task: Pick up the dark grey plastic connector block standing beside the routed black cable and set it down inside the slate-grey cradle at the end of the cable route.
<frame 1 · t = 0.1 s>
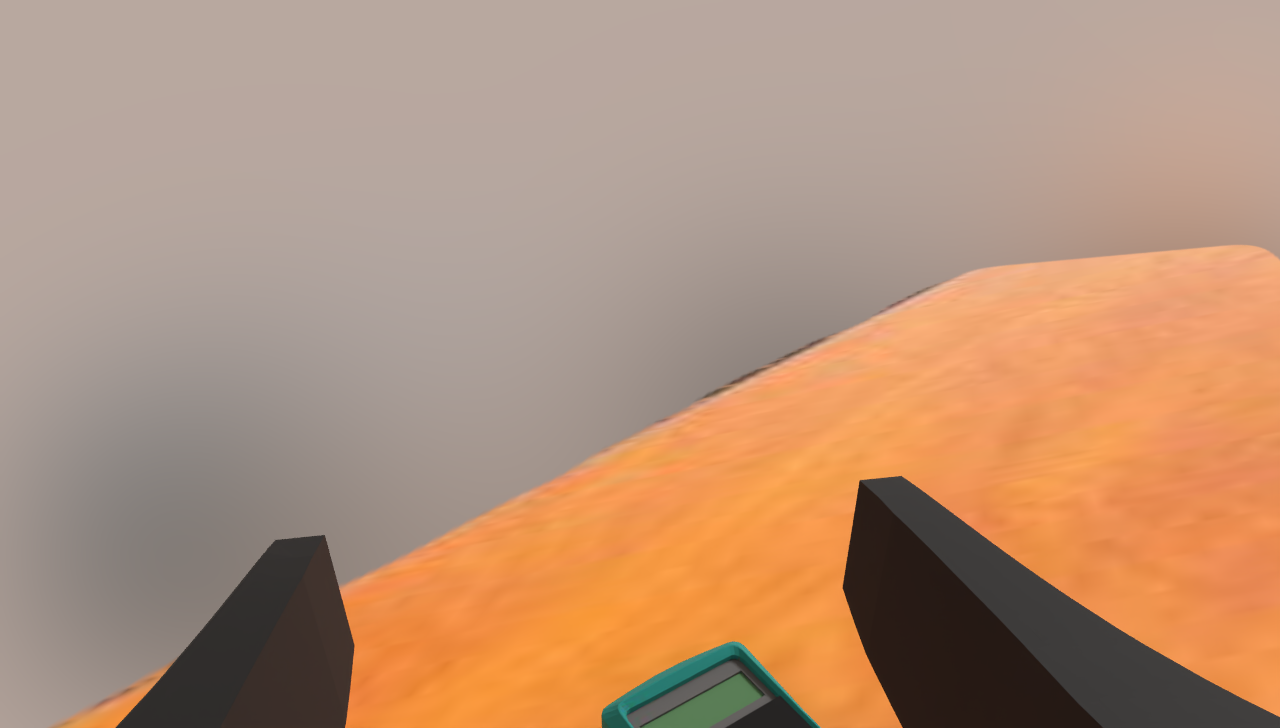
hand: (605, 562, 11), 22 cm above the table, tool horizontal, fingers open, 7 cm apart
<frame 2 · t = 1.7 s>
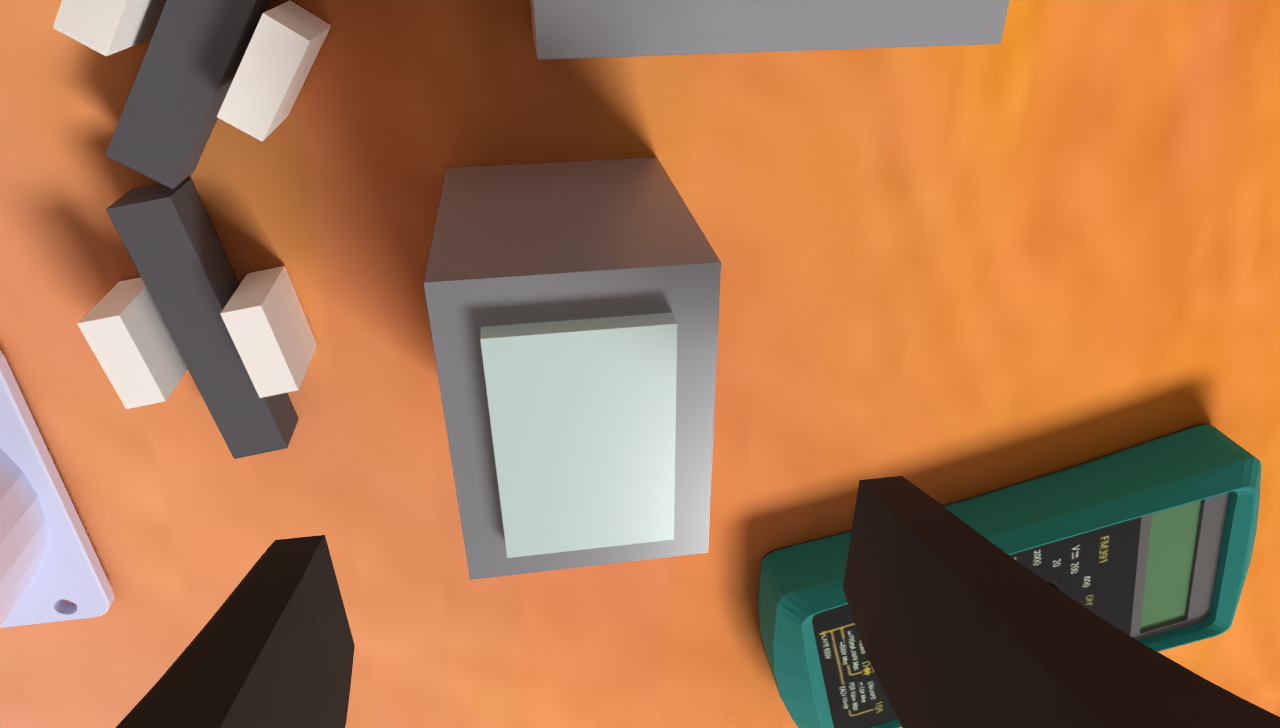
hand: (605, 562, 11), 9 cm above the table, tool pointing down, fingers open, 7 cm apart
routed cable: (247, 128, 16), on the table
digital multimeter: (978, 556, 26), on the table
connector block: (561, 288, 19), on the table
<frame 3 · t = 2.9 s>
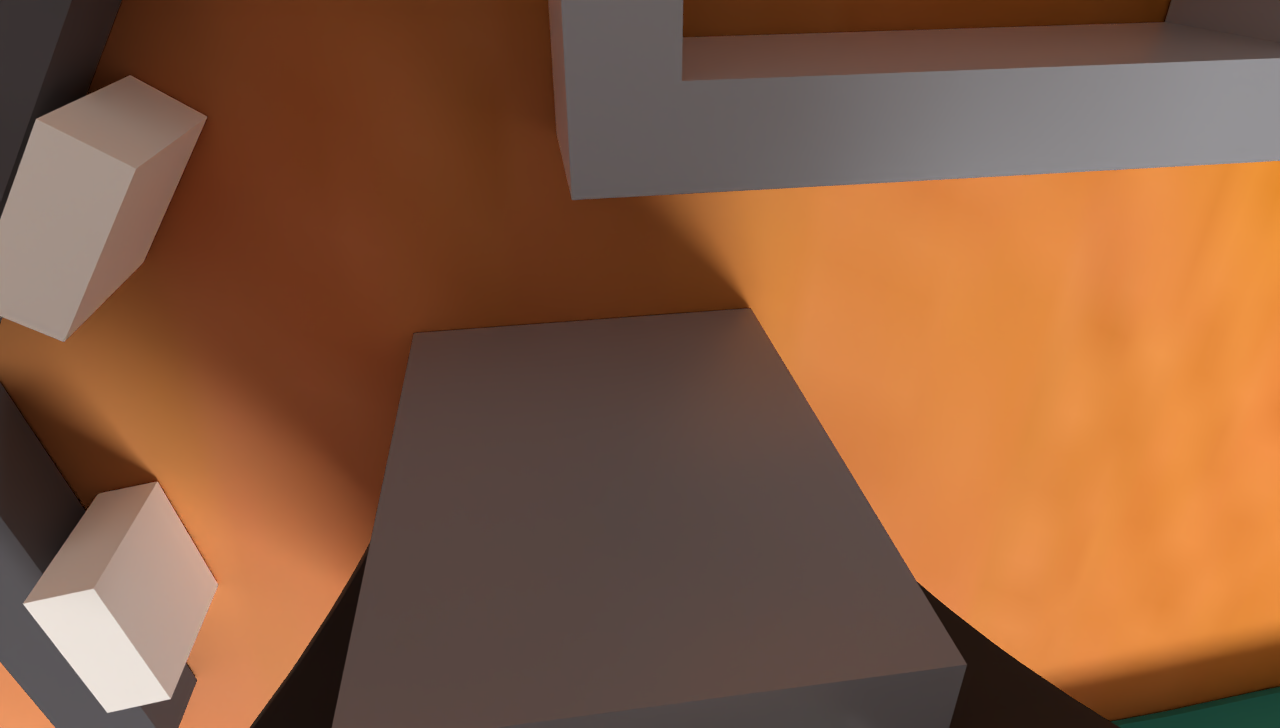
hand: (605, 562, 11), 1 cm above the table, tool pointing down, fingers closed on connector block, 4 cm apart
routed cable: (75, 282, 10), on the table
connector block: (594, 496, 12), on the table, touching gripper
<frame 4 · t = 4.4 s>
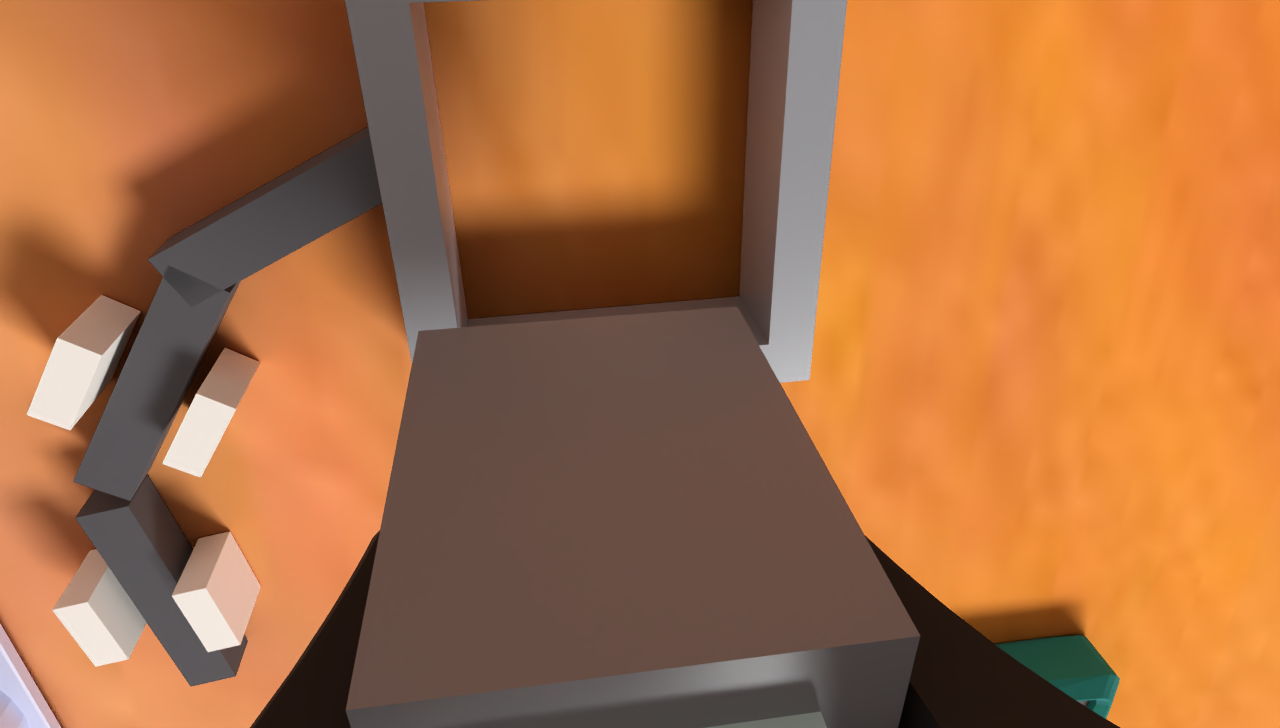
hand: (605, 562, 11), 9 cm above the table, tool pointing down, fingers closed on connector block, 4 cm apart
cradle: (599, 161, 17), on the table
routed cable: (193, 436, 19), on the table
digital multimeter: (871, 703, 29), on the table
connector block: (590, 484, 13), point 7 cm above the table, touching gripper
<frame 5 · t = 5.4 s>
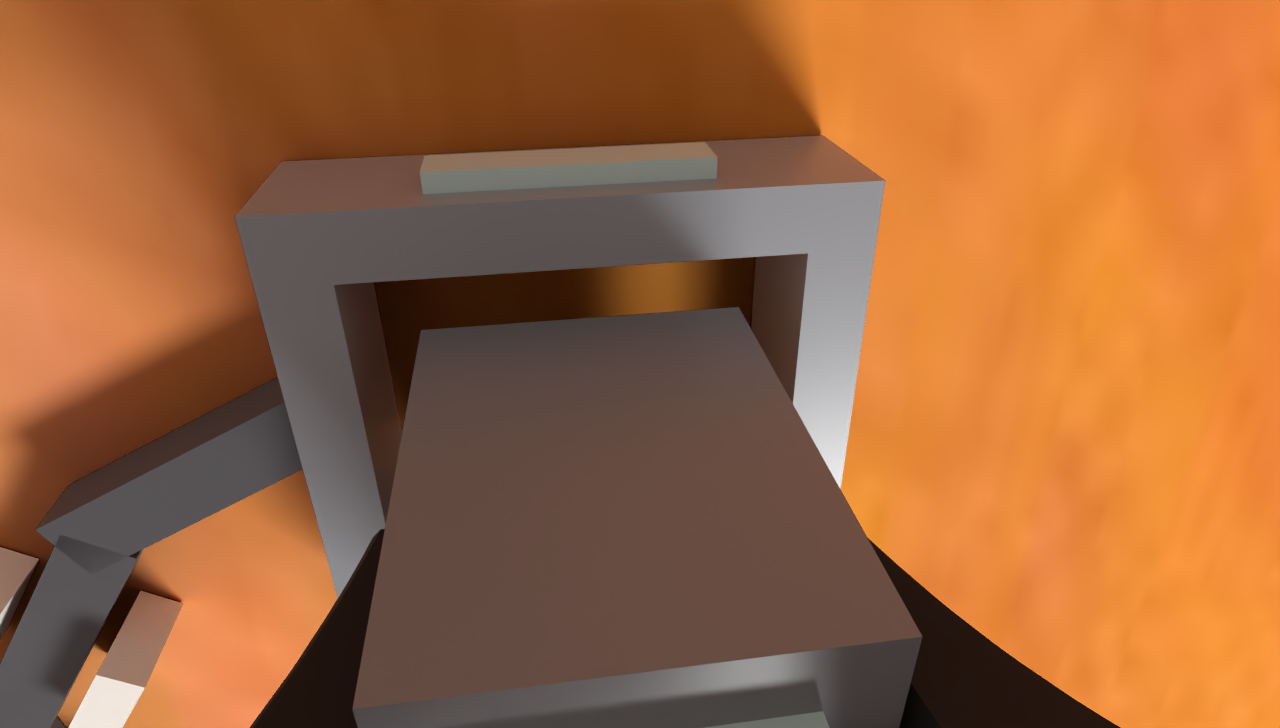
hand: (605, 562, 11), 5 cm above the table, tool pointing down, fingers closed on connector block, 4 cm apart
cradle: (577, 390, 15), on the table
routed cable: (108, 678, 17), on the table
connector block: (591, 484, 13), point 2 cm above the table, touching gripper
when the fingers open (3 cm above the table, at t = 6.2 s): connector block drops 1 cm, resting in cradle.
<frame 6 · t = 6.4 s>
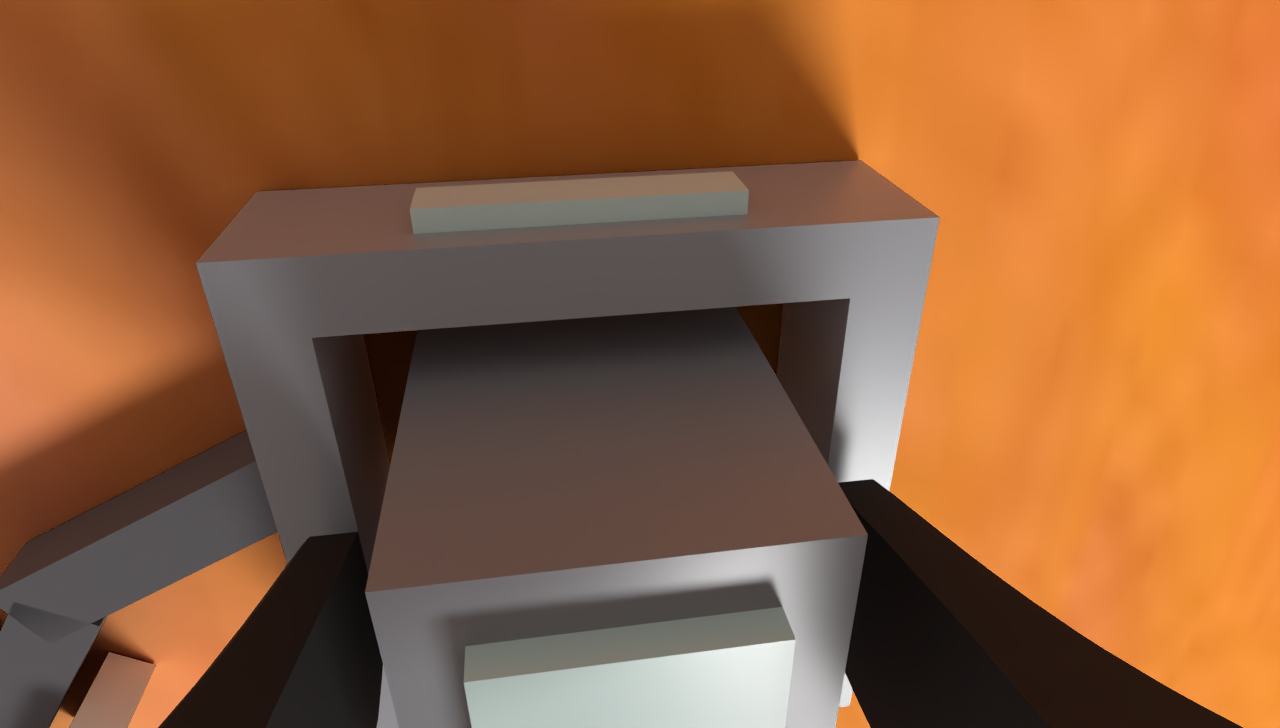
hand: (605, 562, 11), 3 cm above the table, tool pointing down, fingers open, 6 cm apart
cradle: (586, 437, 14), on the table
connector block: (583, 446, 14), resting in cradle
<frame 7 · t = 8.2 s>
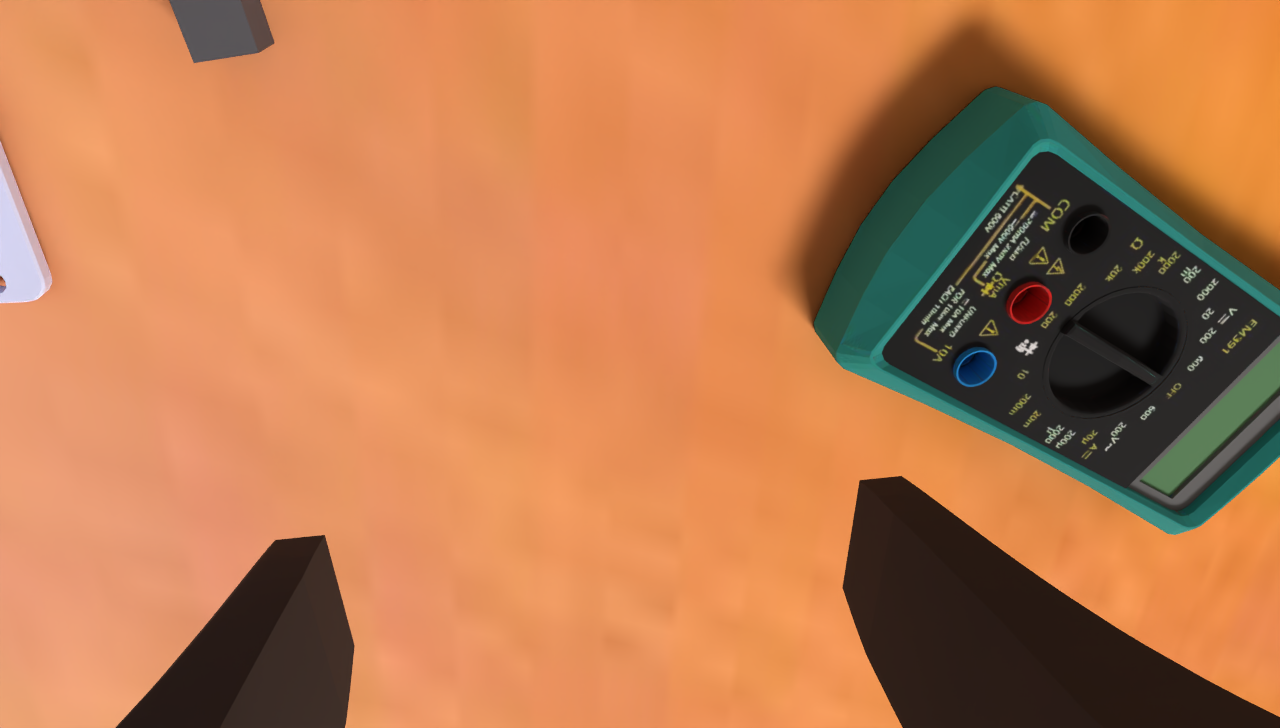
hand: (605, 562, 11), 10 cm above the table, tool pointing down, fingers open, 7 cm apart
digital multimeter: (1062, 315, 23), on the table
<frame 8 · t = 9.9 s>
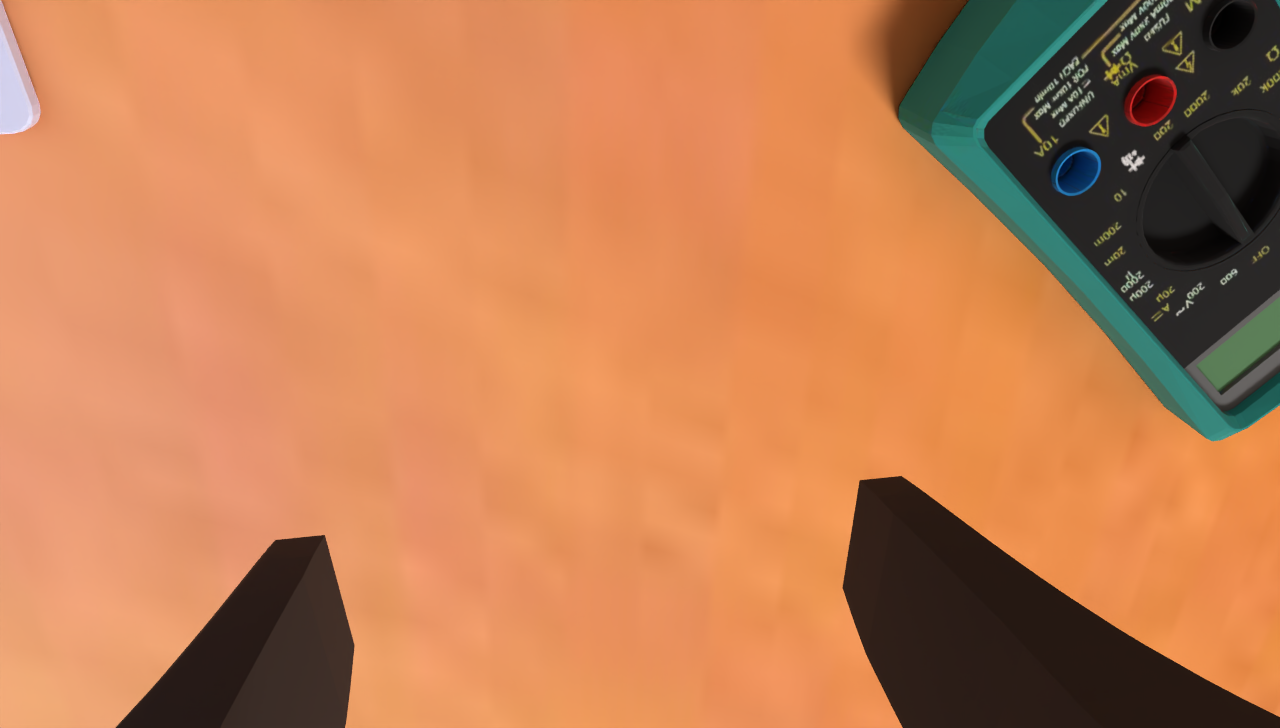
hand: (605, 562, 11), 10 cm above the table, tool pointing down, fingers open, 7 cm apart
digital multimeter: (1144, 172, 21), on the table
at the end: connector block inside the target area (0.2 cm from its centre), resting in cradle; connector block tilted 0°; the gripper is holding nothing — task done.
